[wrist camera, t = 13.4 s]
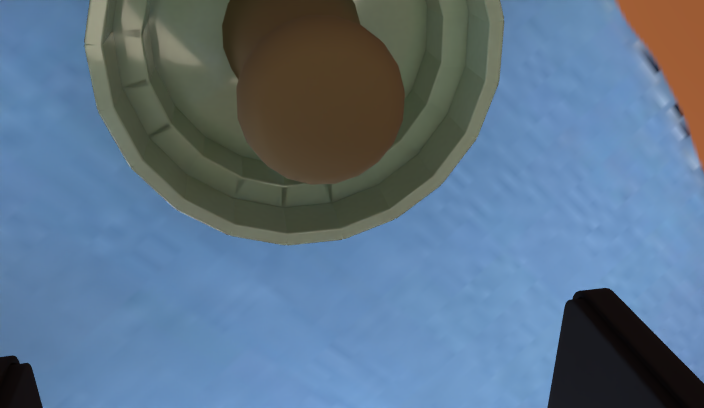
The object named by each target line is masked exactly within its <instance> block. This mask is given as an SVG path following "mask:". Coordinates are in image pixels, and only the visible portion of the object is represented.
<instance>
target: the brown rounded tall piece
mask: <svg viewBox="0 0 704 408" xmlns="http://www.w3.org/2000/svg"><path fill="white" fill-rule="evenodd" d="M222 36H223V49H224V51H225V54H226V56H227V59H228V62H229V64H230V67H231V69H232V71H233V72H234V74H235V75H236V77H237V79H238V83H237V87H236V94H237V117H238V121H239V124H240V126H241V129H242V131H243V134H244V137H245V139H246V142H247V143H248V145H249V146H250V147H251V148H252V149H253V151H254V152H255V153H256V154H257V155H258V156H259V158H260V159H261V160H262V161H263V162H264V163H265V164H266V165H267V166H268V167H270V168H271V169H273V170H274V171H276V172H278V173H279V174H281V175H283V176H284V177H286V178H287V179H291V180H295V181H299V182H303V183H307V184H310V185H315V184H336V183H339V182H342V181H345V180H348V179H351V178H354V177H357V176H359V175H360V174H362V173H363V172H365V171H366V170H368V169H369V168H371V167H372V166H373V165H375V164H376V163H378V162H379V161H380V160H381V158H382V157H383V156H384V155H385V153H386V152H387V151H388V150H389V148H390V147H391V146H392V145H393V143H394V141H395V139H396V136H397V134H398V131H399V129H400V126H401V124H402V121H403V113H404V99H405V90H404V86H403V82H402V78H401V74H400V70H399V66H398V64H397V63H396V61H395V60H394V58H393V56H392V55H391V53H390V52H389V50H388V49H387V47H386V46H385V44H384V43H383V42H382V41H381V40H380V39H378V38H377V37H376V36H375V35H373V34H372V33H371V32H369V31H368V30H367V29H366V28H364V27H363V26H362V25H360V21H359V17H358V14H357V10H356V6H355V3H354V2H353V0H230V1H229V3H228V5H227V9H226V12H225V16H224V20H223V23H222Z"/></svg>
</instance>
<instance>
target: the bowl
mask: <svg viewBox="0 0 704 408" xmlns="http://www.w3.org/2000/svg"><path fill="white" fill-rule="evenodd" d="M229 1H230V0H90V2H89V9H88V17H87V24H86V32H85V39H84V43H85V45H84V47H85V52H86V57H87V62H88V67H89V72H90V76H91V81H92V86H93V91H94V96H95V101H96V106H97V110H99V111H98V113H99V114H100V116H101V118H102V120H103V121H104V123H105V125H106V127H107V128H108V130H109V132H110V134H111V135H112V137H113V139H114V141H115V142H116V144H117V146H118V148H119V149H120V151H121V153H122V155H123V156H124V158H125V160H126V162H127V163H128V165H129V166H130V167H131V169H132V170H133V171H134V172H135V173H137V174H138V175H139V176H140V177H141V178H142V179H143V180H144V181H145V182H146V183H147V184H148V185H150V186H151V187H152V188H153V189H154V190H155V191H156V192H157V193H158V194H159V195H160V196H161V197H162V198H164V199H165V200H166V201H167V202H168V203H169V204H170V205H171V206H172V207H173V208H175V209H176V210H177V211H179V212H181V213H184V214H186V215H188V216H190V217H192V218H194V219H196V220H198V221H200V222H202V223H204V224H206V225H208V226H210V227H212V228H214V229H216V230H218V231H220V232H223V233H225V234H227V235H230V236H234V237H240V238H245V239H251V240H257V241H263V242H269V243H274V244H280V245H297V244H306V243H316V242H325V241H335V240H342V239H346V238H349V237H351V236H354V235H356V234H359V233H361V232H364V231H366V230H369V229H371V228H374V227H376V226H379V225H382V224H384V223H387V222H389V221H392V220H394V219H395V218H398V217H399V216H401V215H402V214H403V213H405V212H406V211H407V210H409V209H410V208H411V207H413V206H414V205H415V204H417V203H418V202H419V201H421V200H422V199H423V198H425V197H426V196H427V195H429V194H430V193H431V192H433V191H434V190H435V189H437V188H438V187H439V186H441V184H442V183H443V182H444V181H445V180H446V178H447V177H448V176H449V174H450V173H451V172H452V170H453V169H454V168H455V167H456V165H457V164H458V163H459V161H460V160H461V159H462V157H463V156H464V155H465V153H466V152H467V151H468V150H469V148H470V147H471V146H472V144H473V143H474V142H475V140H476V138H477V137H478V135H479V132H480V129H481V127H482V124H483V122H484V119H485V117H486V114H487V112H488V109H489V107H490V104H491V101H492V99H493V96H494V94H495V91H496V89H497V86H498V82H499V77H500V65H501V54H502V42H503V30H504V16H503V12H502V7H501V3H500V0H353V2H354V3H355V6H356V10H357V14H358V17H359V21H360V25H362V26H363V27H364V28H366V29H367V30H368V31H369V32H371V33H372V34H373V35H375V36H376V37H377V38H378V39H380V40H381V41H382V42H383V43H384V44H385V46H386V47H387V49H388V50H389V52H390V53H391V55H392V56H393V58H394V60H395V61H396V63H397V64H398V66H399V70H400V74H401V78H402V82H403V86H404V90H405V99H404V113H403V121H402V124H401V126H400V129H399V131H398V134H397V136H396V139H395V141H394V143H393V145H392V146H391V147H390V148H389V150H388V151H387V152H386V153H385V155H384V156H383V157H382V158H381V160H380V161H379V162H378V163H376V164H375V165H373V166H372V167H371V168H369V169H368V170H366V171H365V172H363V173H362V174H360V175H359V176H357V177H354V178H351V179H348V180H345V181H342V182H339V183H336V184H315V185H310V184H307V183H303V182H299V181H295V180H291V179H287V178H286V177H284V176H283V175H281V174H279V173H278V172H276V171H274V170H273V169H271V168H270V167H268V166H267V165H266V164H265V163H264V162H263V161H262V160H261V159H260V158H259V156H258V155H257V154H256V153H255V152H254V151H253V149H252V148H251V147H250V146H249V145H248V143H247V142H246V139H245V137H244V134H243V131H242V129H241V126H240V124H239V121H238V117H237V94H236V87H237V83H238V79H237V77H236V75H235V74H234V72H233V71H232V69H231V67H230V64H229V62H228V59H227V56H226V54H225V51H224V49H223V36H222V23H223V20H224V16H225V12H226V9H227V5H228V3H229Z"/></svg>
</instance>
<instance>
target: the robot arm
mask: <svg viewBox="0 0 704 408" xmlns="http://www.w3.org/2000/svg"><path fill="white" fill-rule="evenodd" d="M0 408H43V407H42V403H41V400H40V396H39V392H38V388H37V385H36V381H35V377H34V374H33V370H32V367H31V365H30V364H29V363H23V364H20V363H19V360H18V359H17V357H16V356H5V357H0ZM548 408H704V383H703V382H702V381H701V380H700V379H699V378H698V377H697V376H696V375H695V374H694V373H693V372H692V371H691V370H690V369H689V368H688V367H687V366H686V365H685V364H684V363H683V362H682V361H681V360H680V359H679V358H678V357H677V356H676V355H675V354H674V353H673V352H672V351H671V350H670V349H669V348H668V347H667V346H666V345H665V344H664V343H663V342H662V341H661V340H660V339H659V338H658V337H657V336H656V335H655V334H654V333H653V332H652V331H651V330H650V329H649V328H648V326H647V325H646V324H645V323H644V322H643V321H642V320H641V319H640V318H639V317H638V316H637V315H636V314H635V313H634V312H633V311H632V310H631V309H630V308H629V307H628V306H627V305H626V304H625V303H624V302H623V301H622V300H621V299H620V298H619V297H618V296H617V295H616V294H615V293H614V292H613V291H612V290H610V289H608V288H601V289H592V290H583V291H578V292H576V293H575V294H574V296H573V299H572V300H569V301H567V303H566V304H565V308H564V314H563V320H562V326H561V332H560V338H559V344H558V349H557V355H556V361H555V367H554V373H553V379H552V385H551V391H550V396H549V402H548Z"/></svg>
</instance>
